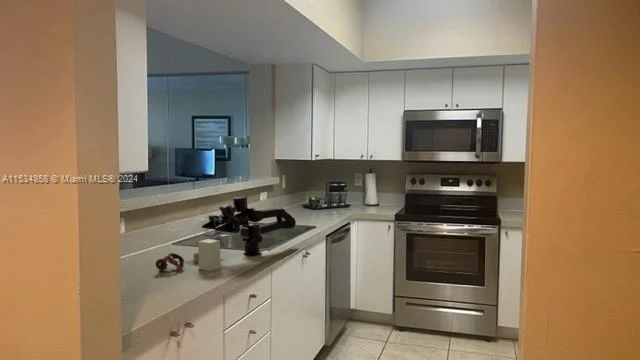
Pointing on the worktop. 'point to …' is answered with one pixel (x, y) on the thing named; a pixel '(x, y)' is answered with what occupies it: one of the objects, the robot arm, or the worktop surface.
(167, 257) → the red and black headphones
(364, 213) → the worktop surface
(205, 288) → the worktop surface
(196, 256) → the cork stopper
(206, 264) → the sage cover
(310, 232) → the worktop surface
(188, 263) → the slate mat
